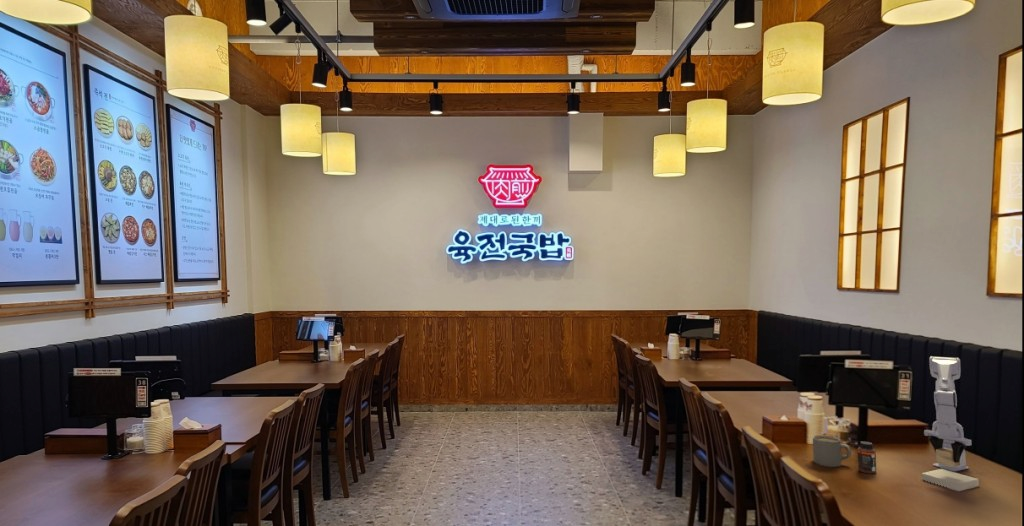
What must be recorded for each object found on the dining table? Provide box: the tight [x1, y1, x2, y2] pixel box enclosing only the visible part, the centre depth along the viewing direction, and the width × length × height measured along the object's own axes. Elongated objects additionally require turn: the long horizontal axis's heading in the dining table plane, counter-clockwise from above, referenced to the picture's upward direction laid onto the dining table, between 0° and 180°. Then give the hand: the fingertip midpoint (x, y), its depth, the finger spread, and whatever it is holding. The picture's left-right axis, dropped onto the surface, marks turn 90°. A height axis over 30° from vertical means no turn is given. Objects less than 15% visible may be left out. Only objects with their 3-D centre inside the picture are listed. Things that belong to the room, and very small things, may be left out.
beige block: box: [921, 468, 980, 492], centre depth 196 cm, size 12×12×3 cm
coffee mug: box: [812, 434, 852, 468], centre depth 218 cm, size 13×10×10 cm
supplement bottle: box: [857, 440, 877, 475], centre depth 209 cm, size 6×6×11 cm
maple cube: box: [935, 448, 960, 467], centre depth 196 cm, size 5×5×5 cm
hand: (948, 459), depth 196 cm, fingers closed on maple cube, 5 cm apart
